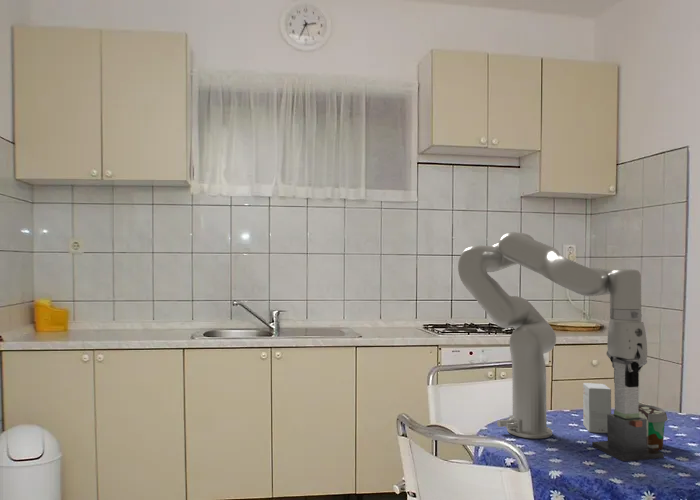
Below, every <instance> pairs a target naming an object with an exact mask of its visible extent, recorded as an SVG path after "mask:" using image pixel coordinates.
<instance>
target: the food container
mask: <svg viewBox="0 0 700 500" xmlns="http://www.w3.org/2000/svg"><path fill="white" fill-rule="evenodd" d="M638 413H639V417H641V418H644V419H646V421H647V446H648V447H650V448H653V449H655V450H657V451H662V450H663V449H664V438H665V424H666V422H667V421H668V420H669V419H668V413H666V410H665V409H663V407H662V408H661V407H659V406H655V405H649V404H644V403H643V404H642V403H638Z"/></svg>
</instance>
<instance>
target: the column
mask: <svg viewBox="0 0 700 500" xmlns="http://www.w3.org/2000/svg"><path fill="white" fill-rule="evenodd" d="M613 362H614V368H613V382H615V383H614V410H613V414H614V415H615V416H616V417H619V418H621V419H624V420H632V419H639V413H638V404H639V386H638V387H627V372H628V365H627V364H628V361H627V360H626V359H622V358H618V359H616V358H613ZM634 363H635V362H632V365H633V364H634Z"/></svg>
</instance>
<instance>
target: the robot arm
mask: <svg viewBox="0 0 700 500" xmlns="http://www.w3.org/2000/svg"><path fill="white" fill-rule="evenodd" d="M516 265H520V266H521V267H523V268H526V269H529V270H530V271H533V272H535V273H538V274H539V275H542V276H543V277H544V278H545V279H547V280H549V281H551V282H553V283H555V284H556V285H558V286H560V287H562V288H564V289H567V290H569V291H572V292H573V293H576V294H578V295H581V296H584V297H595V296H605V295H609V322H608V330H607V345H606V346H607V350H606V356H607V357H608V359H609V360H610V362H611V364H612V365H611V366H612V368H613V369H614V362H613V358H616V359H618V358H622V359H626V360H627V361H628V364H627V365H628V372H627V387H638V388H639V384H640V383H639V372H641V369H642V368H643V366H645V365H646V364H648V360H647V358H648V342H647V341H648V340H647V333H646V328H645V325H644V322H643V321H642V316H643V314H642V275H641V272H640V271H639V270H637V269H632V268H631V269H630V268H629V269H627V268H625V269H624V268H620V269H616V268H615V269H607V268H606V269H605V268H601V267H600V268H597V267H596V268H595V267H587V266H585V265H583V264H580V263H577V262H576V261H573V260H570V259H569V258H566V257H565V256H564V255H562V254H561V253H560V252H559V250H557V248H555V247H554V246H550V245H548V244H546V243H543V242H540V241H538V240H535V239H534V237H533V236H531V235H530V234H528V233H524V232H516V231H512V232H506V233H504V234H503V235H502V236H501V237H500V239H499V240H498V243H495V244H493V245H481V244H480V245H471V246H468V247H467V248H465V249H464V250H462V252H461V254H460V256H459V259H458V263H457V271H458V275H459V278H460V281H461V282H462V284H463V285H464V287H465V288H466V289H467V290H468V292H469V293H470V295H472V296H473V298H474V299H475V300H476V301H477V303H478V304H479V305H480V306H481V308H482V309H483V311H484V312H485V313H486V314H487V316H488V317H489V318H490V319H491V320H492V321H493V322H494V323H493V324H495V325H496V326H498V327H499V328H501V329H511V328H513V329H514V330H513V331H512V333H511V335H510V338H509V351H510V352H509V353H510V357H511V370H512V372H511V376H512V377H511V379H512V380H511V381H512V383H511V384H512V387H511V388H512V389H511V390H512V414H511V415H508V416H509V417H508V418H507V419H498V420H497V421H496V425H497V427H498V428H503V427H504V428H506V429H507V430H506V431H507V433H509V434H510V435H513V436H516V437H519V438H523V439H524V438H525V439H532V440H533V439H534V440H535V439H539V440H540V439H548V438H551V436H552V435H553V430H552V428H551V427H548V426H547V370H546V369H547V368H546V367H547V366H546V362H545V361H546V360H545V357H544V356H545V355H544V354H546V353H549V352H550V351H552V350H553V349H554V348H555V346H556V343H557V336H556V333H555V330H554V329H553V328H552V326H551V325H550V324H549V323H548V321H546V318H544V316H542V314H541V313H540V312H539V311H538V310H537V309H536V307H535V306H534V305H532V303H530V302H529V301H528V299H525V298H524V297H522V296H519V295H513V296H512V295H510V294H509V293H507V291H505V289H504V288H503V287H502V286H501V285H500V284H499V282H498V281H497V280H496V279H494V277H492V276H491V275H490V274H489V273H494V272H495V273H496V272H498V271H501V270H504V269H508V268H510V267H512V266H516ZM632 362H635V363H634V364H633V365H632ZM613 382H614V381H613ZM614 384H615V382H614Z"/></svg>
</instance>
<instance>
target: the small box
mask: <svg viewBox="0 0 700 500" xmlns="http://www.w3.org/2000/svg"><path fill="white" fill-rule="evenodd" d="M582 384H583V385H582V388H583V389H582V391H583V392H582V394H583V395H582V399H583V402H582V403H583V405H582V406H583V411H582V412H583V413H582V415H583V417H582V419H583V421H582V424H583V426H584V427H585V429H586V430H587V431H588V432H589V433H597V434H599V433H600V434H608V433H607V414H612V389H611V388H610V387H609V386H607V385H606V384H605V383H596V382H594V383H593V382H592V383H590V382H583V383H582Z"/></svg>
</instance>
